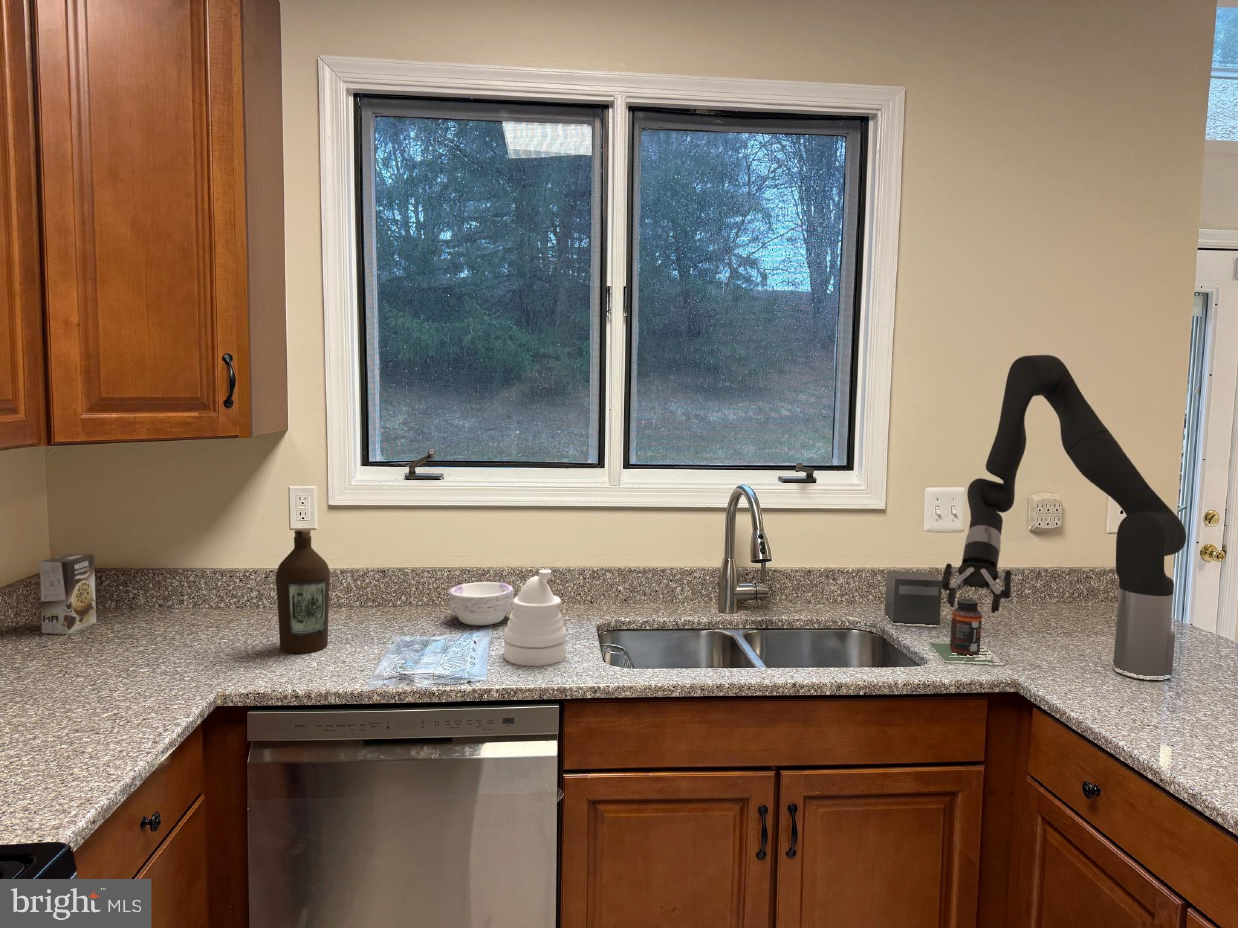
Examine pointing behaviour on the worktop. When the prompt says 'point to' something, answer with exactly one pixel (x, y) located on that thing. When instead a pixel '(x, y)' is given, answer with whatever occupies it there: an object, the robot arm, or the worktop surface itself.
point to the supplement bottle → (966, 628)
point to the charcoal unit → (913, 597)
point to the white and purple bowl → (481, 602)
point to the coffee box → (67, 593)
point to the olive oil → (303, 598)
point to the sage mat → (946, 652)
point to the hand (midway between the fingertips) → (972, 608)
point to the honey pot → (535, 626)
